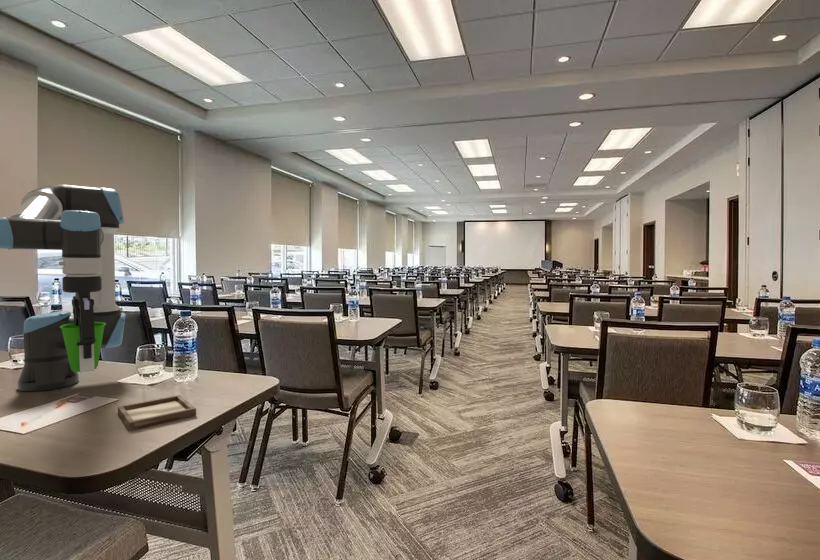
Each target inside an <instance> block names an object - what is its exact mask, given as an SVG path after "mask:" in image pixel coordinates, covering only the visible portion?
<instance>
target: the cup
mask: <svg viewBox="0 0 820 560" xmlns="http://www.w3.org/2000/svg"><path fill="white" fill-rule="evenodd" d="M105 325H106V323H104V322H94V331H95V339H96V341H95V343H94V367H95V370H96V369H98V368H97V367H99V360H100V355H101V349H102V348H101V344H102V338H103V332H104V326H105ZM60 328H61V329H62V333H63V337H64V342H65V346H66V350H67V355H68V359H69V363H70V368H71V370H72V371H73V372H78V373H80V355H79V346H77V345H76V344H77V342H80V332H79V329H80V328H79V326H77V325H75V323H70V324H64V325H61V326H60Z"/></svg>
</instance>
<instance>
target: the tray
mask: <svg viewBox="0 0 820 560" xmlns="http://www.w3.org/2000/svg"><path fill="white" fill-rule="evenodd" d="M117 415H118V416H119V417H120V419H121V420H122V422H123V423H124V425H125V426H126V428H127V429H128V430H129V431H130V432H131V431H135V430H140V429H144V428H149V427H154V426H159V425H161V424H166V423H171V422H175V421H180V420H184V419H189V418H192V417H197V407H195V406H194V405H192V404H191V403H190V402H189V401H188V400H187V399H185V398H184V397H183V396H182V395H180V394H177V395H172V396H167V397H160V398H156V399H150V400H145V401H140V402H135V403H134V402H133V403H130V404H129V403H128V404H124V405H119V406H117Z"/></svg>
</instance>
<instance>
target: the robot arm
mask: <svg viewBox="0 0 820 560" xmlns="http://www.w3.org/2000/svg"><path fill="white" fill-rule="evenodd" d="M120 196H121V195H120V193H119V192H118V191H117V190H116V189H114V188H107V187H102V186H99V187H98V186H86V185H85V186H84V185H73V184H72V185H70V184H61V183H60V184H52V185H51V184H50V185H46V186H41V187H39V188H35V189H32V190H30V192H28V193H26V194H25V195H24V196H23V198H22V199H21V203H20V206H19V207H18V208H17V209H16V211H14V213H12V214H11V216H9V217H6V216H1V217H0V249H2V250H3V249H6V250H8V251H9V250H48V251H50V250H51V251H52V250H55V251H61V257H62V258H61V260H62V261H58V266H62V267H61V268H62V270H61V271H62V274H63V275H65V276H63V277H62V279H61V280H62V283H61V284H62V291H63V292H64V293H70V294H73V293H75V294H74V295H73V296H72V299H71V305H72V312H71V311H69V310H64V311H62V310H61V311H55V312H47V313H42V314H37V315H32V316H29V317H28V318H26V319H25V320H24V321H23V331H22V334H23V352H24V353H23V355H24V365H23V367H22V369H21V372H20V375H19V378H18V381H17V391H20V392H21V391H22V392H44V391H51V390H56V389H57V390H58V389H61V388H67V387H69V386H72V385H75V384H77V383H78V382H79V380H80V375H79V373H80V374H81V373H87V372H95V370H96V369H95V367H94V343H95V341H96V339H95V331H94V322H104V323H106V325H105V326H104V332H103V338H102V344H101V349H104V350H105V349H108V348H109V349H110V348H116V347H119V346H121V345H122V343H123V338H124V337H123V336H124V329H125V323H126V317H127V314H126V312H121V311H122V309H121V307H120V306H119V305H117V303H116V273H115V272H116V271H115V270H116V269H115V233H116V232H118V231H119V230H120V225H123V224H125V220H124V212H123V207H122V202H121V197H120ZM72 314H73V315H72ZM70 323H75V325H77V326H79V328H80V329H79V332H80V342H77V344H76V345H77V346H79V355H80V372H73V371H72V370H71V368H70V363H69V359H68V355H67V350H66V346H65V342H64V337H63V333H62V329H61V328H60V326H61V325H64V324H70Z"/></svg>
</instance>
